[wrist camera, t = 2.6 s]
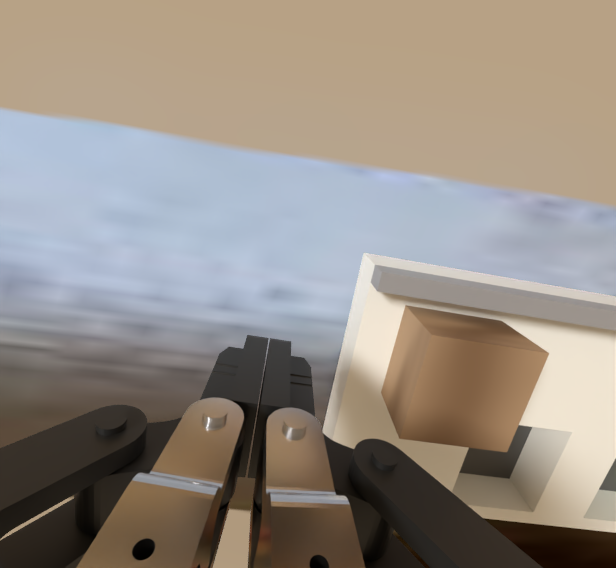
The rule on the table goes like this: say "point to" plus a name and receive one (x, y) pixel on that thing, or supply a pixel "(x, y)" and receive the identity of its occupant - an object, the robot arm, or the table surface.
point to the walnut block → (459, 379)
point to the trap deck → (540, 409)
